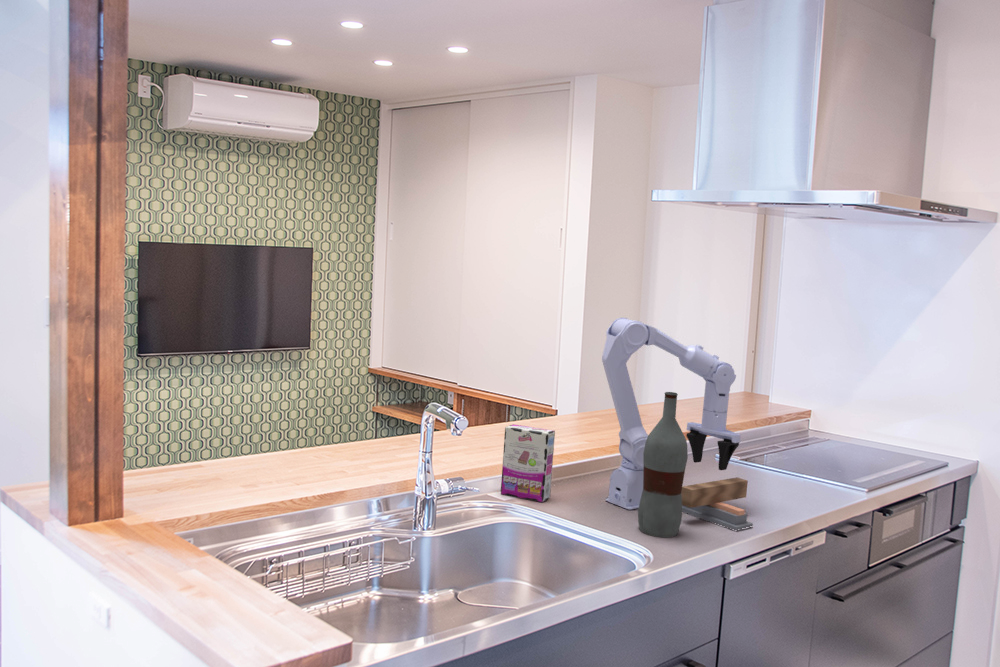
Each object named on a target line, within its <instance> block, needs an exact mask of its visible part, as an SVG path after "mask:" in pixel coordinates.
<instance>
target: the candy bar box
mask: <svg viewBox="0 0 1000 667" xmlns="http://www.w3.org/2000/svg"><path fill="white" fill-rule="evenodd" d="M555 435H556V430H552V429H546V428H542V427H541V428H540V427H532V426H525V425H522V424H521V425H519V424H510V425H507V426H505V427H504V439H503V455H502V470H501V481H500V482H501V484H500V495H505V496H508V497H514V498H519V499H524V500H530V501H534V502H539V503H543V502H545V501H548V500H549V499H550V498H551V490H552V478H553V477H552V476H553V463H554V451H555V450H554V448H555V438H556V437H555Z"/></svg>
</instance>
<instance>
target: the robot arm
mask: <svg viewBox="0 0 1000 667" xmlns="http://www.w3.org/2000/svg"><path fill="white" fill-rule="evenodd" d="M605 336H606V340H605V343H604V348H603V352H602V356H601V357H602V358H601V362H602V366H603V368H604V372H605V376H606V380H607V384H608V386H609V391H610V393H611V394H610V396H611V398H612V401H613V406H614V409H615V413H616V416H617V420H618V424H619V428H620V431H619V432H618V437H619V445H618V452H619V454H620V455H621V457H622V458H621V459H622V460H621V462H620V463H621V464H620V466H619V467H618V468H616V469H614V470H613V471H611V474H610V475H609V478H610V479H609V489H608V497H607V498H605V501H606V502H609V503H611V504H613V505H616V506H619V507H621V508H624V509H626V510H630V511H631V510H636V509H639V504H640V499H641V495H642V491H643V471H644V462H643V453H644V448H645V443H646V440H647V437H648V435H649V433H647V431H646V429H645V428H644V426H643V423H642V419H641V415H640V410H639V407H638V404H637V400H636V399H637V398H636V396H635V392H634V388H633V385H632V381H631V377H630V373H629V370H628V365H627V362H628V361H629V359H630V358H631V356H632V355H633V354H635V353H636V352H637V351H638V350H640V348H642V347H643V346H656V347H657V348H659V349H662V350H664V351H665V352H666V353H669V354H671V355H672V356H674V357H676V358H678V360H679V361H678V362H679V364H680V366H682V367H683V368H685V369H687V370H688V371H691V372H692V373H694V374H696V375H698V377H701V378H702V379H703V380H704V381H705V385H704V386H705V387H704V395H703V405H702V406H703V407H702V416H701V423H700V422H699V423H697V422H694V421H692V422H690V421H689V422H686V423H687V424H686V431H688V432H687V433H686V436H685V437H686V439H687V440H688V442H689V445H690V448H691V454H692V460H693V463H701V462H702V460H703V454H704V453H703V452H704V446H705V443H706V439H707V436H709V437H713V438H718V439H722V440H718V441H717V448H718V471H726V470H727V469H728V466H729V463H730V461H731V458H732V456H733V455H734V452H735V451H736V450H737V448H738V447H739V445H740V443H741V437H742V436H741V435H742V434H741V433H738V432H737V433H736V432H734V431H732V430H729V429H727V418H728V408H729V406H728V405H729V398H730V391H731V386H733V384H734V382H735V380H736V377H737V374H735V370H734V368H733V366H732V364H730V363H729V362H724V361H722V360H719V358H720V357H719V355H715V354H713V355H712V354H710V353H709V352H707V351H705V350H704V347H703V346H702V345H699V344H696V345H695V344H690V345H684V344H683V343H681V342H679V341H678V340H676V339H674V338H673V337H671V336H670V335H668V334H667V333H664V332H663V331H661V330H660V329H658V328H656V327H653V326H652V325H649V324H646V323H643V322H642V321H639V320H634V319H629V318H627V317H618V318H616V319H615V320H614V321H612V322H611V323H610V326H609V327H608V328H607V330H606V331H605Z"/></svg>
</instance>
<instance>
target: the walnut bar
mask: <svg viewBox="0 0 1000 667" xmlns="http://www.w3.org/2000/svg"><path fill="white" fill-rule="evenodd" d="M748 482H749V481H748V480H747V479H745V478H744V479H743V478H740V477H738V476H737V477H731V478H726V479H718V480H713V481H707V482H702V483H701V482H700V483H695V484H690V485H682V491H681V496H682V505H684V506H686V507H689V508H693V507H698V506H703V505H708V504H714V503H719V502H723V503H725V502H728V501H733V500H738V499H739V500H740V499H743V498H747V494H748V493H747V491H748Z"/></svg>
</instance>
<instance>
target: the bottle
mask: <svg viewBox="0 0 1000 667" xmlns="http://www.w3.org/2000/svg"><path fill="white" fill-rule="evenodd" d="M677 401H678V393H677V392H674V391H673V392H672V391H665V392H664V402H663V411H662V417H661V418H660V419H659V421H658V422H657V424H655V426H654V427H653V429H652V430H651V431H650V433H648V437H647V440H646V443H645V448H644V453H643V462H644V471H643V491H642V495H641V499H640V504H639V508H637V516H638V517H637V520H638V522H637V523H638V527H639V530H640V532H641V533H643V534H646V535H648V536H652V537H656V538H657V537H659V538H672V536H673V537H675V536H677V535H678V532H679V530H680V527H681V522H682V518H683V512H682V496H681V491H682V486H684V485H683V484H684V478H685V474H686V473H685V471H686V466H687V463H688V459H689V458H688V457H689V456H688V451H689V450H688V443H687V437H686V436H685V434H684V433H683V431H682V430H683V429H681V427H680V424H679V423H678V421H677V419H676V418H677V417H676V416H677V412H676V411H677Z"/></svg>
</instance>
